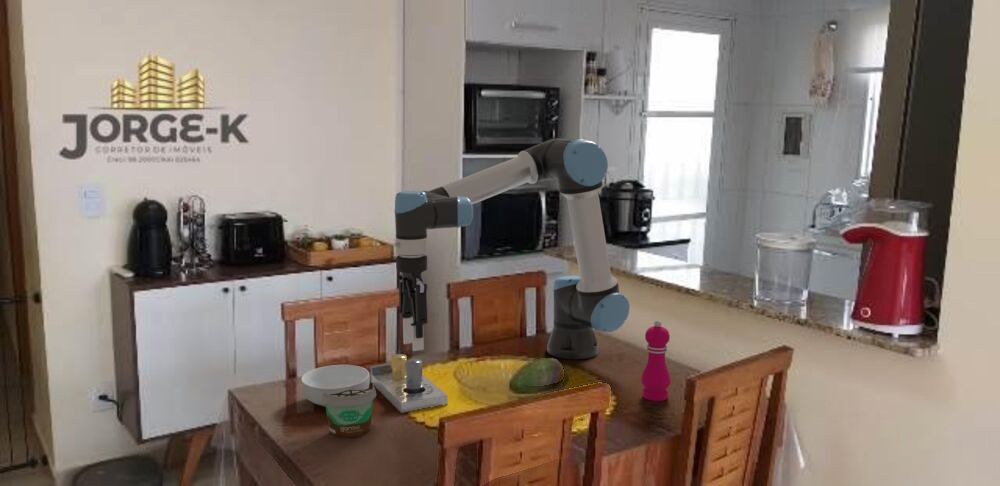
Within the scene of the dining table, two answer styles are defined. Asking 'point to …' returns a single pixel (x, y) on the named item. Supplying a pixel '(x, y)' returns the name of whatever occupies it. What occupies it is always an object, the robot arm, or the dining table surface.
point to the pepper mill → (656, 364)
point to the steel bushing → (414, 376)
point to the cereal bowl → (333, 381)
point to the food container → (349, 412)
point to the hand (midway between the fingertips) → (413, 346)
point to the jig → (404, 386)
